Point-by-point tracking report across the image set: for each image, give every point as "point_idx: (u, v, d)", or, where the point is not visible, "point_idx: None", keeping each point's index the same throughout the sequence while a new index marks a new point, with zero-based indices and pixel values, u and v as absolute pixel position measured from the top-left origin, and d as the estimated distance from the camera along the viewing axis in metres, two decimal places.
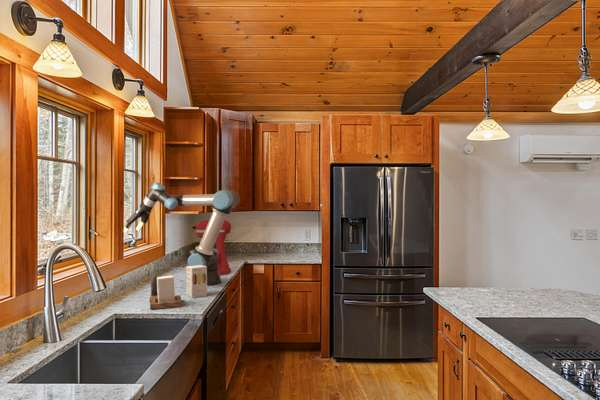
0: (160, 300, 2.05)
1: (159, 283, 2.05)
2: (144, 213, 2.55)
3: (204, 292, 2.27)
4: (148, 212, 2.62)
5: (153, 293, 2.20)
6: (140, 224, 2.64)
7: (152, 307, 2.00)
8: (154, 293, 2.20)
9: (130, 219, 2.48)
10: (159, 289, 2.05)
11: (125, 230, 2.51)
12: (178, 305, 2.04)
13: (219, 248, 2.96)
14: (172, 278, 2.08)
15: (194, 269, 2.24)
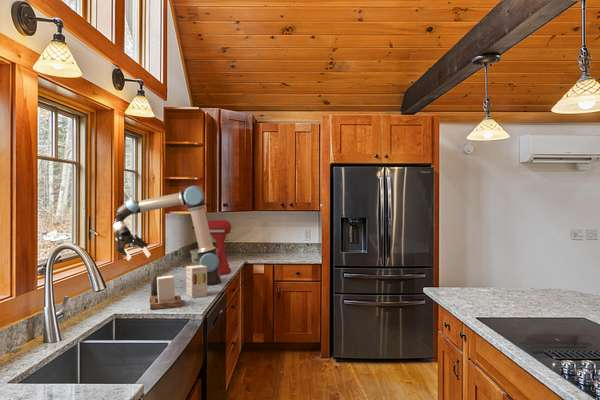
0: (160, 300, 2.05)
1: (159, 283, 2.05)
2: (126, 236, 2.30)
3: (204, 292, 2.27)
4: (135, 236, 2.36)
5: (153, 293, 2.20)
6: (144, 250, 2.34)
7: (152, 307, 2.00)
8: (154, 293, 2.20)
9: (117, 246, 2.21)
10: (159, 289, 2.05)
11: (128, 257, 2.20)
12: (178, 305, 2.04)
13: (219, 248, 2.96)
14: (172, 278, 2.08)
15: (194, 269, 2.24)
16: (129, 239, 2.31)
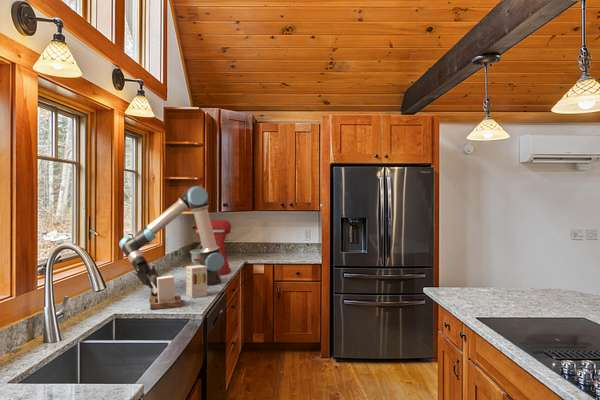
0: (160, 300, 2.05)
1: (159, 283, 2.05)
2: (142, 266, 2.23)
3: (204, 292, 2.27)
4: (151, 267, 2.29)
5: (153, 293, 2.20)
6: None
7: (152, 307, 2.00)
8: None
9: (142, 280, 2.18)
10: (159, 289, 2.05)
11: (155, 290, 2.18)
12: (178, 305, 2.04)
13: None
14: (172, 278, 2.08)
15: (194, 269, 2.24)
16: (145, 269, 2.24)
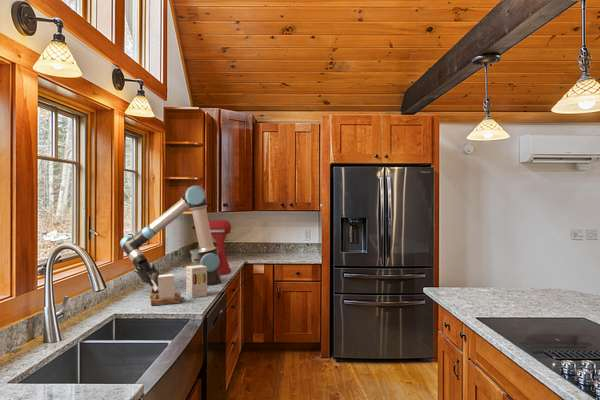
0: (160, 298, 2.10)
1: (159, 281, 2.10)
2: (143, 264, 2.31)
3: (204, 292, 2.27)
4: (151, 265, 2.36)
5: None
6: None
7: (153, 303, 2.07)
8: None
9: (143, 277, 2.25)
10: (159, 287, 2.10)
11: (155, 288, 2.25)
12: (178, 301, 2.11)
13: (219, 248, 2.96)
14: (172, 276, 2.12)
15: (194, 269, 2.24)
16: (146, 267, 2.32)
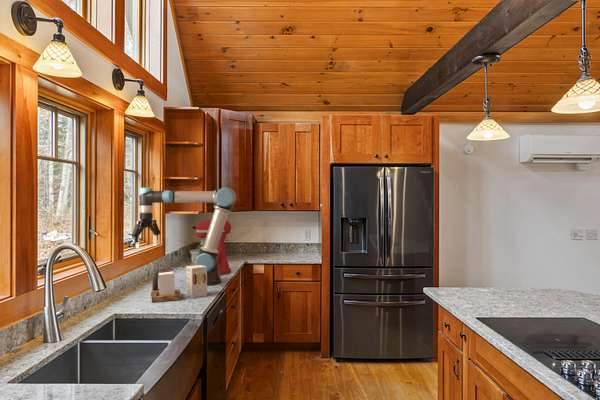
0: (160, 295, 2.17)
1: (159, 278, 2.17)
2: (147, 222, 2.44)
3: (204, 292, 2.27)
4: (154, 222, 2.51)
5: (154, 287, 2.34)
6: (154, 238, 2.52)
7: (153, 300, 2.14)
8: (155, 287, 2.34)
9: (134, 232, 2.38)
10: (159, 284, 2.17)
11: (137, 246, 2.40)
12: (178, 298, 2.18)
13: (219, 248, 2.96)
14: (172, 274, 2.19)
15: (194, 269, 2.24)
16: (147, 225, 2.46)
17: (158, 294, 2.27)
